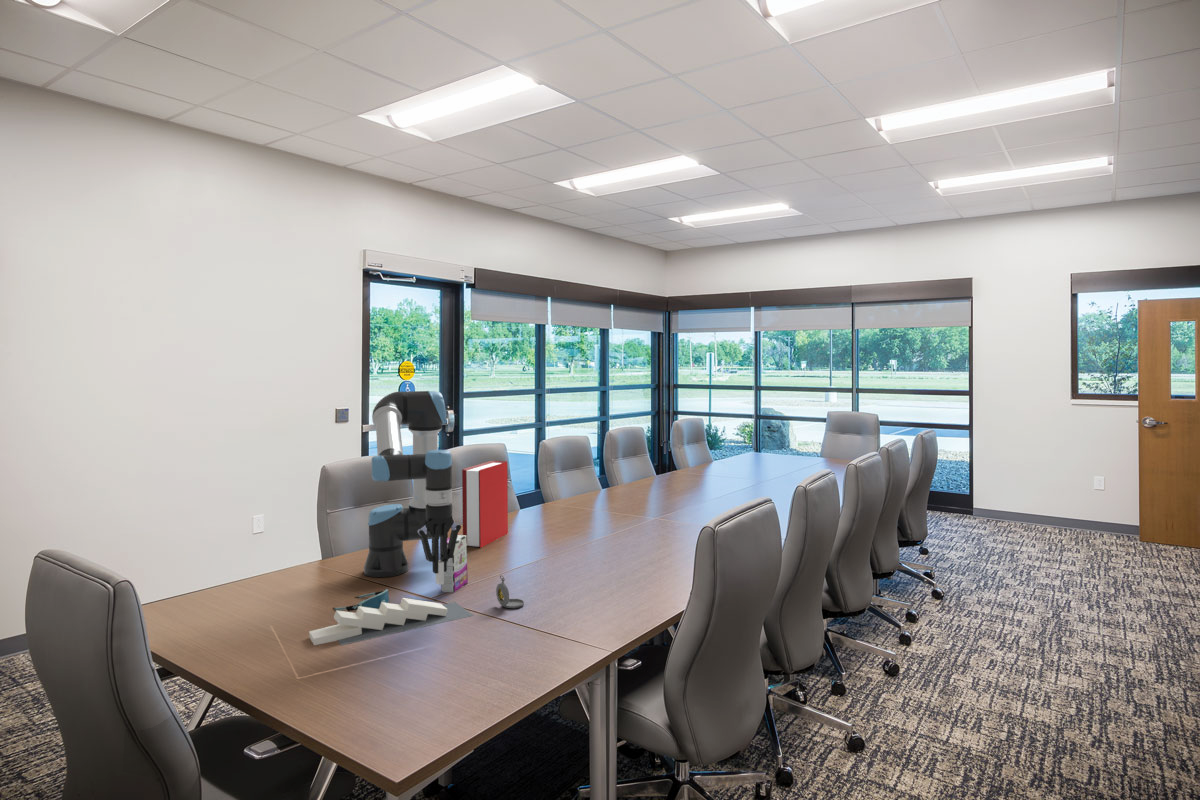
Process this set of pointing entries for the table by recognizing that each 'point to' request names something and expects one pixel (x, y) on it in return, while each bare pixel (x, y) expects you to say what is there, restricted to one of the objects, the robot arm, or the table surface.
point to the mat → (410, 624)
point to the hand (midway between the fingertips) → (439, 583)
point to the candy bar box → (456, 566)
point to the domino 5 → (423, 607)
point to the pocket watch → (506, 596)
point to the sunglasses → (370, 601)
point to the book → (485, 502)
